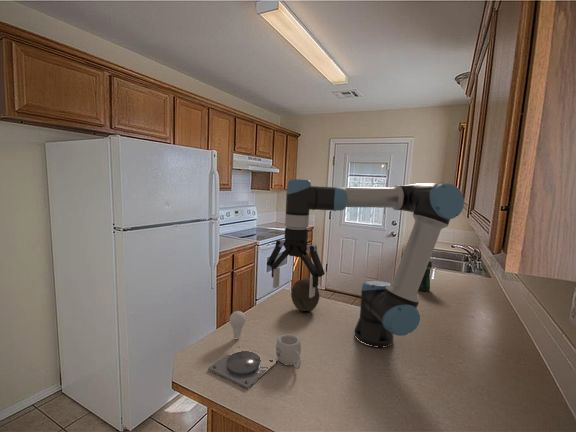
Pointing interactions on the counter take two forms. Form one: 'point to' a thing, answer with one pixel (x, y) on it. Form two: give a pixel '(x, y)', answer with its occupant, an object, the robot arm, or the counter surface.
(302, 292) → the coconut
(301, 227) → the robot arm
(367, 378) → the counter surface
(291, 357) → the mug
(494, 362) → the counter surface
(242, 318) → the lightbulb
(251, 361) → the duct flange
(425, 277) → the coffee jar
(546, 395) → the counter surface
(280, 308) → the counter surface
